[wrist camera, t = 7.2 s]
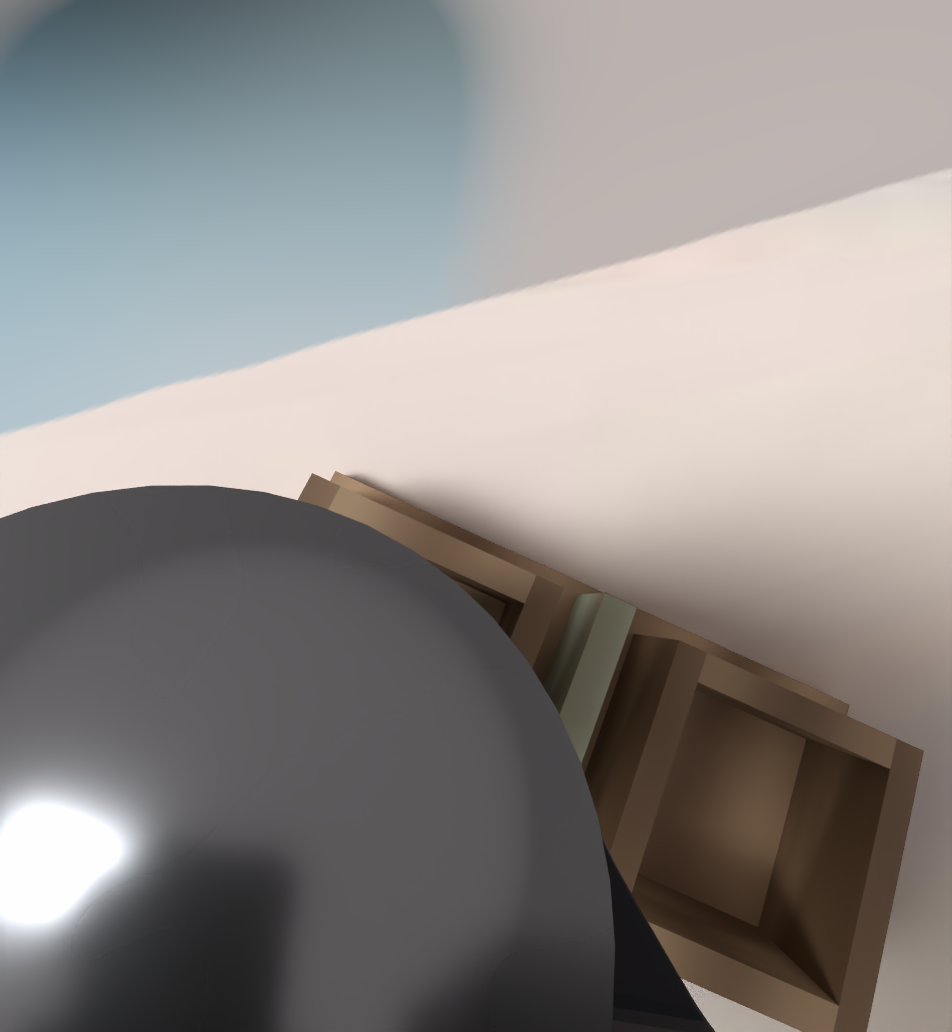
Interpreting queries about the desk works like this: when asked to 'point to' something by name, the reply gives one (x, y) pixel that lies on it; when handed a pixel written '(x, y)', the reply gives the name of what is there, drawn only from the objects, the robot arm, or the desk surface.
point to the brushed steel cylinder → (278, 784)
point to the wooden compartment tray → (702, 779)
